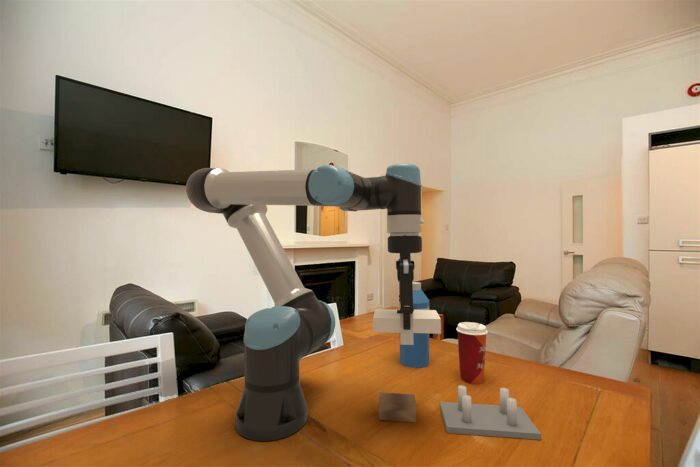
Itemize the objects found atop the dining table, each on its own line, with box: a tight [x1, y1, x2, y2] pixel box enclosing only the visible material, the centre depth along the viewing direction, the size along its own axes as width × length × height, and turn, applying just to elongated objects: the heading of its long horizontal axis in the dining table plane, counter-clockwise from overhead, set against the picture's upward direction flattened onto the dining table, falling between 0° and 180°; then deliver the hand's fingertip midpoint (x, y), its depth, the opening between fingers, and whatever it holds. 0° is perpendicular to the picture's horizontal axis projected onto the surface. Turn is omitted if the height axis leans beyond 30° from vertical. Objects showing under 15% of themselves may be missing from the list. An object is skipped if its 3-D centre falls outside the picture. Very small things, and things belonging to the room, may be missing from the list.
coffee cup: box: [455, 321, 488, 385], centre depth 91 cm, size 8×8×15 cm
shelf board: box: [372, 308, 442, 335], centre depth 72 cm, size 14×8×3 cm, turn 82°
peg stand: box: [439, 384, 542, 441], centre depth 70 cm, size 18×10×6 cm, turn 83°
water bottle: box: [399, 281, 430, 369], centre depth 102 cm, size 9×9×25 cm
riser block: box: [378, 391, 417, 423], centre depth 72 cm, size 8×4×4 cm, turn 83°
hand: (406, 337), depth 72 cm, fingers closed on shelf board, 8 cm apart
